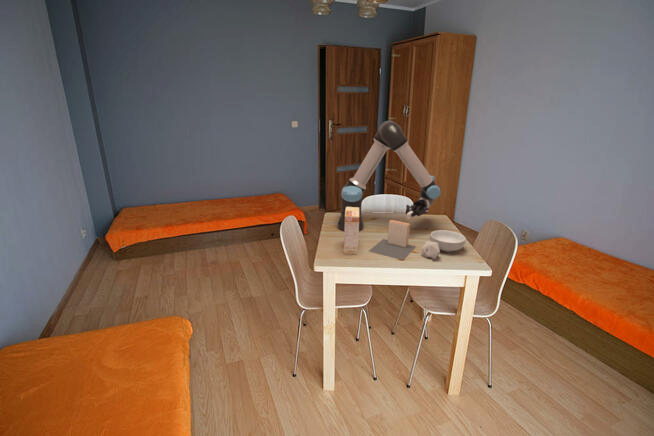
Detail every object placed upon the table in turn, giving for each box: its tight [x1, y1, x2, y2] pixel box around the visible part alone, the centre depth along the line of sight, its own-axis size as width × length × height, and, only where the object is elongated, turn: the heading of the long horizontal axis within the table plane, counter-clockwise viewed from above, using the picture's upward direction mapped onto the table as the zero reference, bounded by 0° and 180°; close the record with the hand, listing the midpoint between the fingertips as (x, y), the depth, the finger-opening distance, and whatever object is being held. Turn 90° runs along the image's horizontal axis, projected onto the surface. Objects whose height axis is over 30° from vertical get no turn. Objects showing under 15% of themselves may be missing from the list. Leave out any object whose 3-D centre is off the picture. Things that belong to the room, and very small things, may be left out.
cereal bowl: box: [429, 229, 467, 253], centre depth 175 cm, size 17×17×7 cm
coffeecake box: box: [343, 207, 360, 255], centre depth 172 cm, size 15×7×20 cm, turn 175°
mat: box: [368, 238, 417, 261], centre depth 173 cm, size 18×19×1 cm
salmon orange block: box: [387, 219, 411, 247], centre depth 176 cm, size 10×3×12 cm, turn 58°
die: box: [421, 240, 441, 260], centre depth 165 cm, size 8×9×10 cm
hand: (407, 216), depth 182 cm, fingers closed
